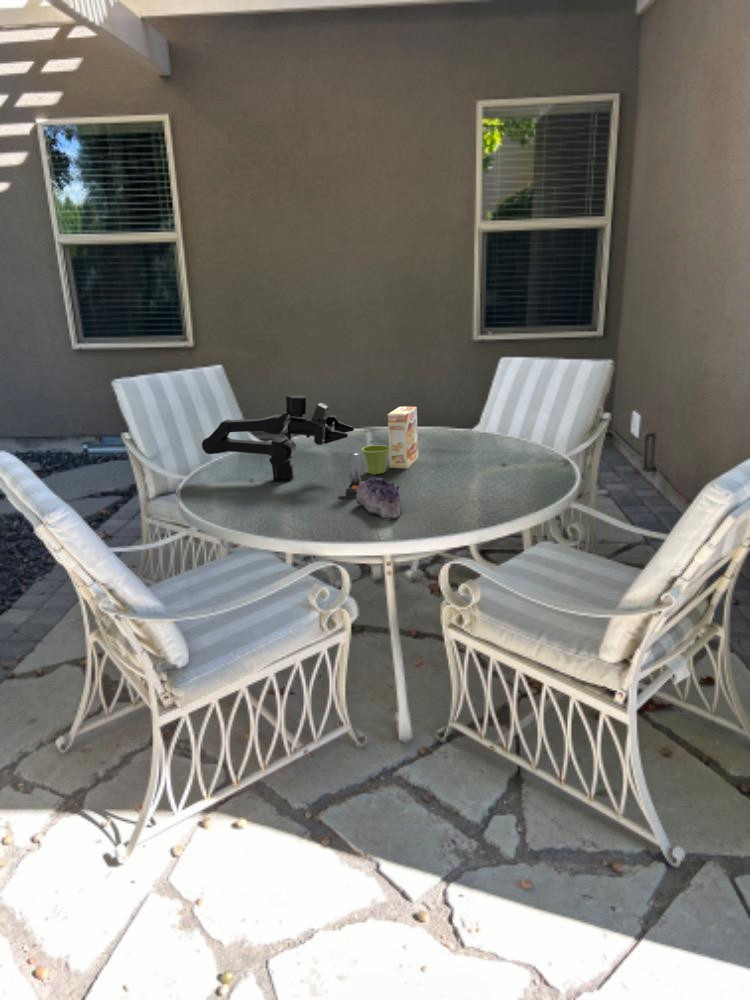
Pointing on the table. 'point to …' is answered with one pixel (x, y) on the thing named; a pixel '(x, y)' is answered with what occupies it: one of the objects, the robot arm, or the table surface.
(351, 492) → the stand base
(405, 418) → the coffeecake box
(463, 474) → the table surface
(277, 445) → the robot arm
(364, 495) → the geode
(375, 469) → the plant pot
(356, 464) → the column
